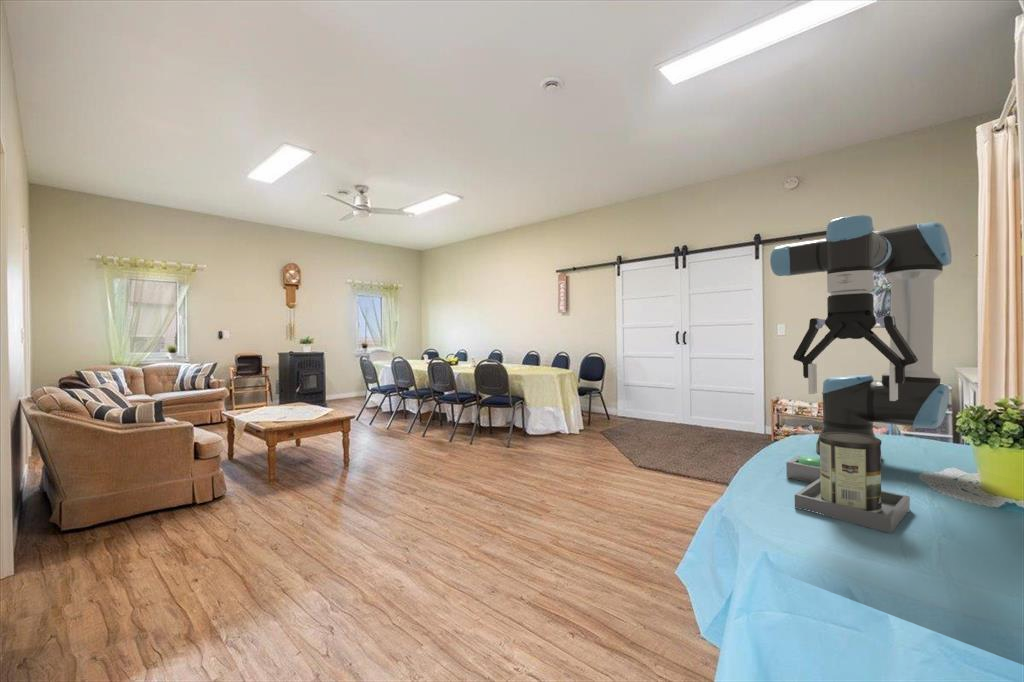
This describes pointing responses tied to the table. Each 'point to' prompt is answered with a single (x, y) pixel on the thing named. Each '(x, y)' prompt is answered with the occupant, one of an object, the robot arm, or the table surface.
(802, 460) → the button
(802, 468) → the button housing
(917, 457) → the table surface
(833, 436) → the coffee can
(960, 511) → the table surface
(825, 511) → the shallow gray tray
